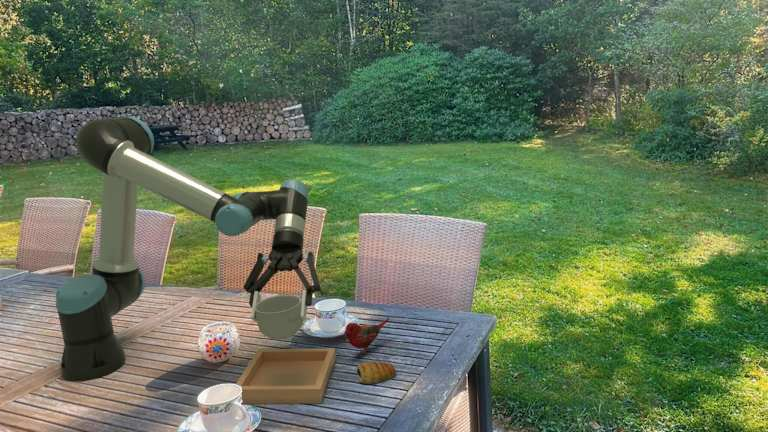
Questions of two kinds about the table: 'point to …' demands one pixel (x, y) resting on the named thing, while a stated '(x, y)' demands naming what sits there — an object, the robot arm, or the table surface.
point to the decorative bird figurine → (362, 334)
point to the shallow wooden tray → (287, 375)
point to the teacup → (279, 316)
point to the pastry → (375, 372)
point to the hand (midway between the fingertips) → (278, 319)
